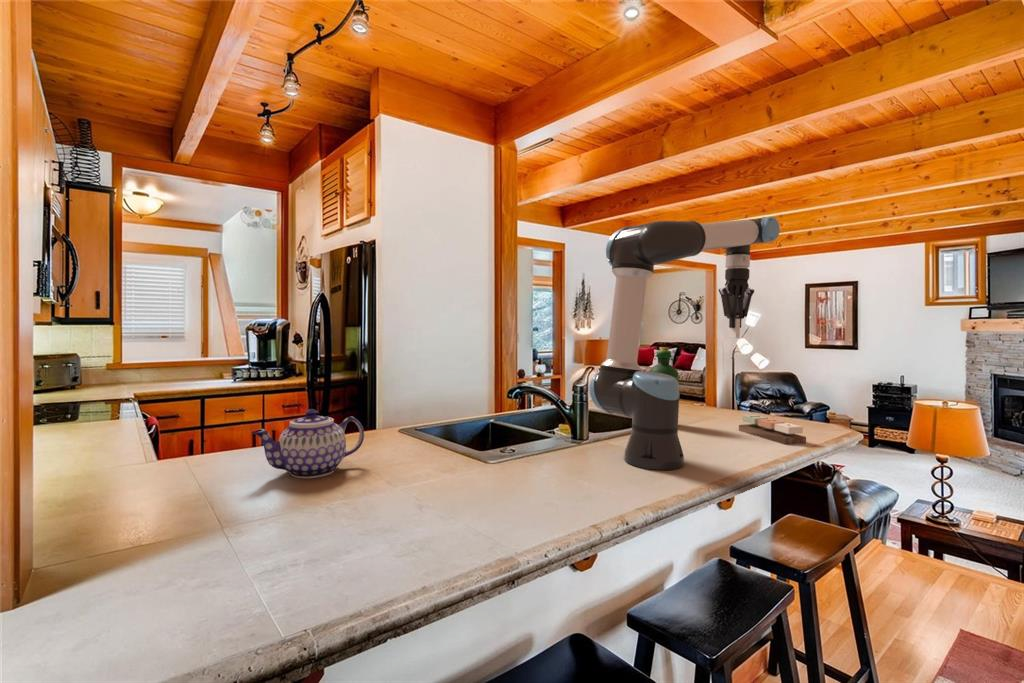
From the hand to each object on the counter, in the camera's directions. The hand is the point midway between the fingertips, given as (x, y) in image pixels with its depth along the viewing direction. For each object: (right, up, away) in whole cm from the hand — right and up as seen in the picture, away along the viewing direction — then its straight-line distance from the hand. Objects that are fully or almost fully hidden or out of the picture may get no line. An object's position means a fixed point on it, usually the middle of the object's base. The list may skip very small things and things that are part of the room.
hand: (734, 337), depth 171 cm
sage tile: (+7, -31, 0) cm, 32 cm away
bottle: (-22, -32, +10) cm, 40 cm away
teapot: (-124, -32, -52) cm, 138 cm away
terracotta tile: (+9, -31, -6) cm, 33 cm away
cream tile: (+11, -32, -13) cm, 36 cm away
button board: (+9, -33, -6) cm, 34 cm away
